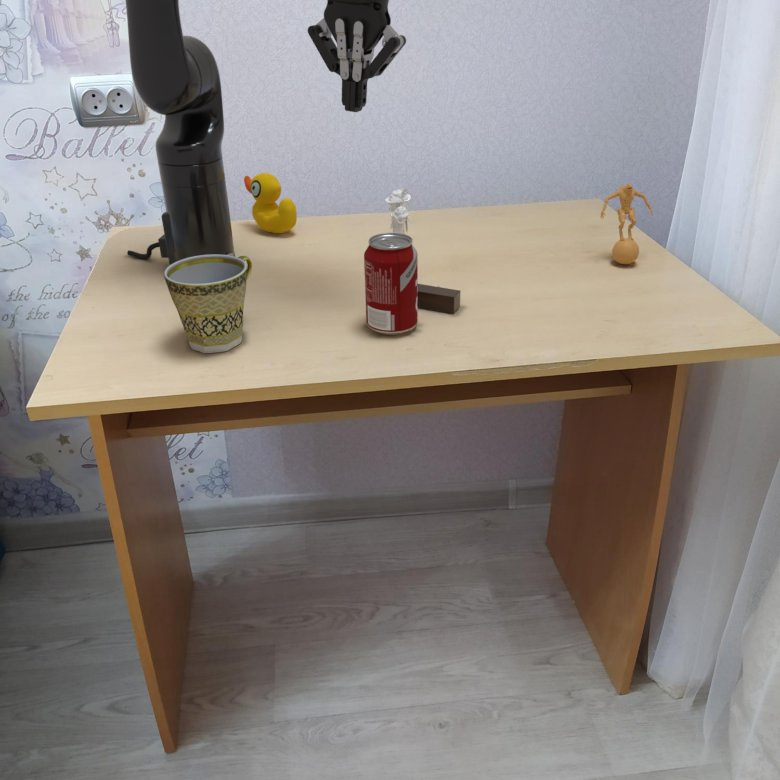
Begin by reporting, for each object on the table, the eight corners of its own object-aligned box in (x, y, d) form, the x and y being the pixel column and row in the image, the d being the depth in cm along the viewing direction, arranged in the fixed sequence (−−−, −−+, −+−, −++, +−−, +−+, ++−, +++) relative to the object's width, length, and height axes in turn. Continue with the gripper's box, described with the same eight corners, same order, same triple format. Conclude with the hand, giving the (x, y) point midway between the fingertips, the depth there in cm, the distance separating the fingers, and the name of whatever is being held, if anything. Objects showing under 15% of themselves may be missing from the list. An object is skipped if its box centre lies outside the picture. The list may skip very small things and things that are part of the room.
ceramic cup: (218, 367, 93) (206, 290, 88) (159, 348, 98) (145, 274, 93) (285, 326, 103) (278, 255, 97) (229, 310, 107) (220, 242, 102)
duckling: (239, 228, 137) (232, 172, 132) (261, 221, 141) (255, 165, 136) (283, 241, 131) (278, 183, 126) (305, 233, 135) (301, 176, 129)
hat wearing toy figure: (413, 267, 120) (413, 191, 114) (388, 268, 120) (386, 192, 114) (408, 247, 128) (407, 175, 121) (384, 248, 127) (383, 175, 121)
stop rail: (460, 307, 107) (460, 290, 106) (453, 314, 105) (454, 297, 104) (382, 293, 111) (381, 277, 110) (374, 300, 109) (374, 283, 108)
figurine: (603, 270, 118) (613, 192, 112) (588, 256, 123) (597, 181, 117) (654, 266, 119) (667, 189, 113) (638, 252, 124) (649, 178, 118)
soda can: (390, 343, 98) (388, 253, 92) (356, 326, 102) (352, 239, 96) (428, 327, 102) (428, 240, 96) (393, 311, 106) (392, 227, 100)
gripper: (292, -50, 88) (293, 107, 98) (396, -39, 84) (387, 124, 93) (325, -51, 94) (323, 98, 103) (424, -41, 89) (413, 113, 99)
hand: (353, 110), depth 98 cm, fingers closed
